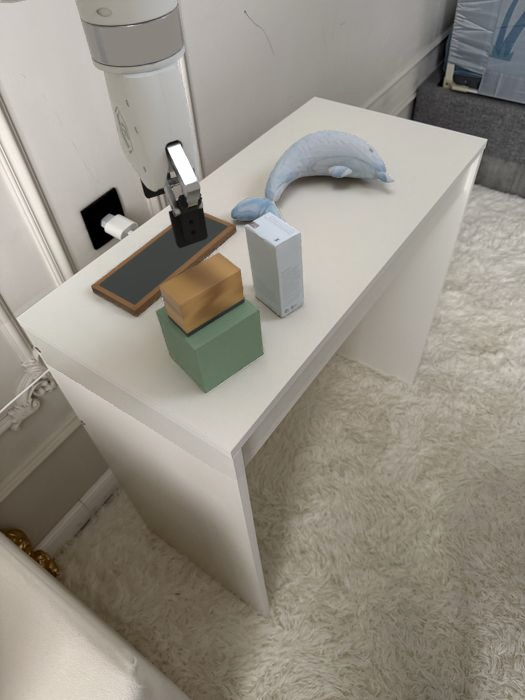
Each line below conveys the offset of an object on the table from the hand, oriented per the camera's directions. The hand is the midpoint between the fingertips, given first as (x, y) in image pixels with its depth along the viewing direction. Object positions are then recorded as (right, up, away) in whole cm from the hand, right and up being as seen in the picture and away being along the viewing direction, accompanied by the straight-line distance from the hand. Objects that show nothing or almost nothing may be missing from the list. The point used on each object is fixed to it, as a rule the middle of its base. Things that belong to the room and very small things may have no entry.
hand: (175, 216), depth 54 cm
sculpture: (+18, +10, +31) cm, 38 cm away
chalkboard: (-5, -1, +24) cm, 25 cm away
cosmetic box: (+11, -7, +17) cm, 22 cm away
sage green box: (+3, -15, +12) cm, 19 cm away
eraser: (+3, -9, +6) cm, 11 cm away
